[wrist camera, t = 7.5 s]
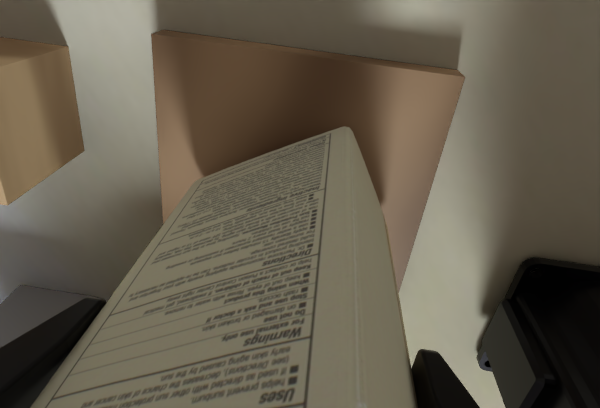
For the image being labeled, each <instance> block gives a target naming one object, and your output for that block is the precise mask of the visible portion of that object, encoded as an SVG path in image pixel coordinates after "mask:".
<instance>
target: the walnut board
mask: <svg viewBox="0 0 600 408" xmlns="http://www.w3.org/2000/svg"><path fill="white" fill-rule="evenodd" d="M151 37H152V53H153V69H154V86H155V102H156V118H157V134H158V150H159V166H160V182H161V199H162V215H163V224H164V223H165V221H166V220H167V219H168V217H169V216H170V215H171V213H172V212H173V210H174V209H175V208H176V206H177V205H178V204H179V202H180V201H181V199H182V198H183V197H184V195H185V194H186V193H187V191H188V190H189V188H190V187H191V186H192V184H193V183H194V182H195V181H197V180H199V179H201V178H204V177H206V176H209V175H211V174H214V173H216V172H219V171H221V170H223V169H226V168H229V167H231V166H234V165H237V164H239V163H242V162H245V161H247V160H250V159H253V158H255V157H258V156H261V155H264V154H266V153H269V152H272V151H274V150H277V149H280V148H283V147H285V146H288V145H291V144H294V143H296V142H299V141H302V140H305V139H308V138H311V137H314V136H317V135H320V134H322V133H325V132H328V131H331V130H334V129H337V128H340V127H344V126H345V127H349V128H350V129H351V130H352V131H353V134H354V136H355V139H356V141H357V144H358V146H359V149H360V151H361V154H362V157H363V159H364V162H365V165H366V167H367V170H368V173H369V175H370V178H371V181H372V184H373V186H374V189H375V192H376V194H377V197H378V200H379V203H380V206H381V209H382V212H383V215H384V218H385V221H386V224H387V228H388V234H389V240H390V246H391V252H392V258H393V264H394V270H395V276H396V282H397V288H398V293H399V290H400V287H401V284H402V280H403V277H404V274H405V271H406V267H407V264H408V261H409V258H410V254H411V251H412V248H413V245H414V241H415V238H416V235H417V232H418V228H419V225H420V222H421V219H422V215H423V212H424V209H425V206H426V203H427V199H428V196H429V193H430V190H431V186H432V183H433V180H434V177H435V173H436V170H437V167H438V164H439V160H440V157H441V154H442V151H443V147H444V144H445V141H446V138H447V134H448V131H449V128H450V125H451V122H452V118H453V115H454V112H455V109H456V105H457V102H458V99H459V96H460V92H461V89H462V86H463V83H464V79H465V76H463V75H462V74H461V73H460V72H459V71H458V70H453V69H446V68H439V67H431V66H424V65H417V64H409V63H402V62H395V61H387V60H380V59H373V58H366V57H358V56H351V55H344V54H336V53H329V52H322V51H314V50H307V49H300V48H293V47H285V46H278V45H271V44H263V43H256V42H249V41H241V40H234V39H227V38H220V37H212V36H205V35H198V34H190V33H183V32H176V31H168V30H161V31H158V32H156V33H153V34H151Z"/></svg>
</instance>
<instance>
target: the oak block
mask: <svg viewBox="0 0 600 408" xmlns="http://www.w3.org/2000/svg"><path fill="white" fill-rule="evenodd" d="M83 151H84V145H83V138H82V132H81V125H80V119H79V113H78V106H77V100H76V93H75V87H74V81H73V74H72V68H71V61H70V55H69V48H68V47H67V46H60V45H53V44H46V43H39V42H32V41H25V40H18V39H11V38H4V37H0V204H2V205H9V204H10V203H12V202H13V201H14V200H16V199H17V198H19V197H20V196H21V195H23V194H24V193H26V192H27V191H28V190H30V189H31V188H33V187H34V186H36V185H37V184H38V183H40V182H41V181H43V180H44V179H45V178H47V177H48V176H50V175H51V174H52V173H54V172H55V171H57V170H58V169H59V168H61V167H62V166H64V165H65V164H66V163H68V162H69V161H71V160H72V159H73V158H75V157H76V156H78V155H79V154H80V153H82V152H83Z"/></svg>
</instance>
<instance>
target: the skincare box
mask: <svg viewBox="0 0 600 408" xmlns="http://www.w3.org/2000/svg"><path fill="white" fill-rule="evenodd" d="M30 408H418V404H417V399H416V393H415V387H414V382H413V376H412V370H411V365H410V359H409V353H408V347H407V341H406V336H405V330H404V324H403V318H402V312H401V306H400V300H399V294H398V288H397V282H396V276H395V270H394V264H393V258H392V252H391V246H390V240H389V234H388V228H387V224H386V221H385V218H384V215H383V212H382V209H381V206H380V203H379V200H378V197H377V194H376V192H375V189H374V186H373V184H372V181H371V178H370V175H369V173H368V170H367V167H366V165H365V162H364V159H363V157H362V154H361V151H360V149H359V146H358V144H357V141H356V139H355V136H354V134H353V131H352V130H351V129H350V128H349V127H345V126H344V127H340V128H337V129H334V130H331V131H328V132H325V133H322V134H320V135H317V136H314V137H311V138H308V139H305V140H302V141H299V142H296V143H294V144H291V145H288V146H285V147H283V148H280V149H277V150H274V151H272V152H269V153H266V154H264V155H261V156H258V157H255V158H253V159H250V160H247V161H245V162H242V163H239V164H237V165H234V166H231V167H229V168H226V169H223V170H221V171H219V172H216V173H214V174H211V175H209V176H206V177H204V178H201V179H199V180H197V181H195V182H194V183H193V184H192V186H191V187H190V188H189V190H188V191H187V193H186V194H185V195H184V197H183V198H182V199H181V201H180V202H179V204H178V205H177V206H176V208H175V209H174V210H173V212H172V213H171V215H170V216H169V217H168V219H167V220H166V221H165V223H164V224H163V226H162V227H161V229H160V230H159V231H158V232H157V234H156V235H155V237H154V238H153V239H152V241H151V242H150V243H149V245H148V246H147V247H146V249H145V250H144V251H143V253H142V254H141V256H140V257H139V258H138V260H137V261H136V263H135V264H134V265H133V267H132V268H131V269H130V271H129V272H128V274H127V275H126V276H125V278H124V279H123V280H122V282H121V283H120V285H119V286H118V287H117V289H116V290H115V291H114V293H113V294H112V296H111V298H110V299H109V300H108V302H107V303H106V304H105V306H104V307H103V308H102V309H101V311H100V312H99V314H98V315H97V316H96V318H95V319H94V320H93V322H92V323H91V325H90V326H89V327H88V329H87V330H86V331H85V333H84V334H83V335H82V337H81V338H80V340H79V341H78V342H77V344H76V345H75V346H74V348H73V349H72V350H71V352H70V353H69V355H68V356H67V357H66V359H65V360H64V361H63V363H62V364H61V365H60V367H59V368H58V370H57V371H56V372H55V374H54V375H53V376H52V378H51V379H50V381H49V382H48V383H47V385H46V386H45V388H44V389H43V390H42V392H41V393H40V395H39V396H38V397H37V399H36V400H35V402H34V403H33V404H32V406H31V407H30Z"/></svg>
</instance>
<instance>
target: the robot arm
mask: <svg viewBox="0 0 600 408" xmlns="http://www.w3.org/2000/svg"><path fill="white" fill-rule="evenodd" d="M537 268H539V269H538V270H537V271H535V272H531V271H532V270H533V269H537ZM105 304H106V301H105V300H104V299H100V298H94V297H86V298H84V299H82V300H80V301H78V302H77V303H75V304H73V305H72V306H70V307H68V308H66V309H65V310H63V311H61V312H60V313H58V314H56V315H54V316H53V317H51V318H49V319H48V320H46V321H44V322H43V323H41V324H39V325H37V326H36V327H34V328H32V329H31V330H29V331H27V332H25V333H24V334H22V335H20V336H19V337H17V338H15V339H14V340H12V341H10V342H8V343H7V344H5V345H3V346H2V347H0V408H30V407H31V406H32V404H33V403H34V402H35V400H36V399H37V397H38V396H39V395H40V393H41V392H42V390H43V389H44V388H45V386H46V385H47V383H48V382H49V381H50V379H51V378H52V376H53V375H54V374H55V372H56V371H57V370H58V368H59V367H60V365H61V364H62V363H63V361H64V360H65V359H66V357H67V356H68V355H69V353H70V352H71V350H72V349H73V348H74V346H75V345H76V344H77V342H78V341H79V340H80V338H81V337H82V335H83V334H84V333H85V331H86V330H87V329H88V327H89V326H90V325H91V323H92V322H93V320H94V319H95V318H96V316H97V315H98V314H99V312H100V311H101V309H102V308H103V307H104V306H105ZM477 361H478V364H479V366H480V368H481V369H483V370H486V371H492V372H493V374H494V377H495V380H496V382H497V385H498V388H499V391H500V393H501V396H502V399H503V402H504V404H505V407H506V408H600V267H598V266H591V265H584V264H577V263H571V262H564V261H557V260H550V259H543V258H530V259H527V260H525V261H524V262H523V263H522V264H521V265H520V268H519V270H518V272H517V274H516V276H515V278H514V280H513V282H512V284H511V286H510V288H509V290H508V292H507V294H506V297H505V299H504V300H503V301H501V302H500V304H499V306H498V308H497V310H496V312H495V314H494V316H493V318H492V320H491V322H490V325H489V327H488V329H487V331H486V333H485V335H484V337H483V339H482V346H481V348H480V350H479V353H478V355H477ZM411 370H412V376H413V382H414V387H415V393H416V399H417V404H418V408H480V407H479V406H478V405H477V403H476V402H475V401H474V399H473V398H472V397H471V395H470V394H469V392H468V391H467V390H466V388H465V387H464V386H463V384H462V383H461V382H460V380H459V379H458V378H457V376H456V375H455V374H454V372H453V371H452V370H451V368H450V367H449V366H448V364H447V363H446V362H445V360H444V359H443V358H442V356H441V355H440V354H439V353H438V352H436V351H432V350H425V349H420V350H419V351H418V353H417V355H416V358H415V361H414V363H413V366H412V369H411Z"/></svg>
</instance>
